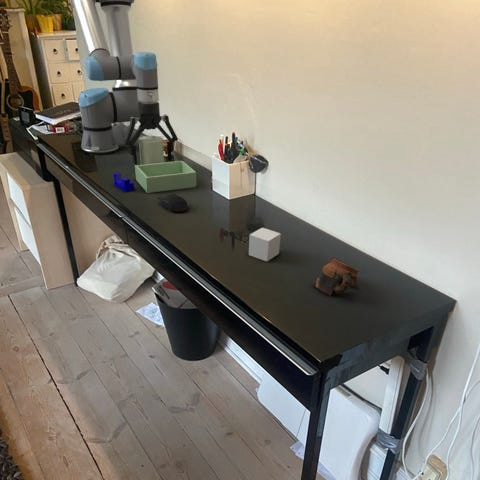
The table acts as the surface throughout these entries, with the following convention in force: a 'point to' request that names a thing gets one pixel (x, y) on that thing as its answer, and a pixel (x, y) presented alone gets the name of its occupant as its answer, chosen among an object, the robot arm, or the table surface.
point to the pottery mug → (342, 282)
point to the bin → (165, 176)
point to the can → (151, 150)
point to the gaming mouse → (174, 203)
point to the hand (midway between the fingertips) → (152, 161)
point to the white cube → (264, 244)
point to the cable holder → (123, 183)
